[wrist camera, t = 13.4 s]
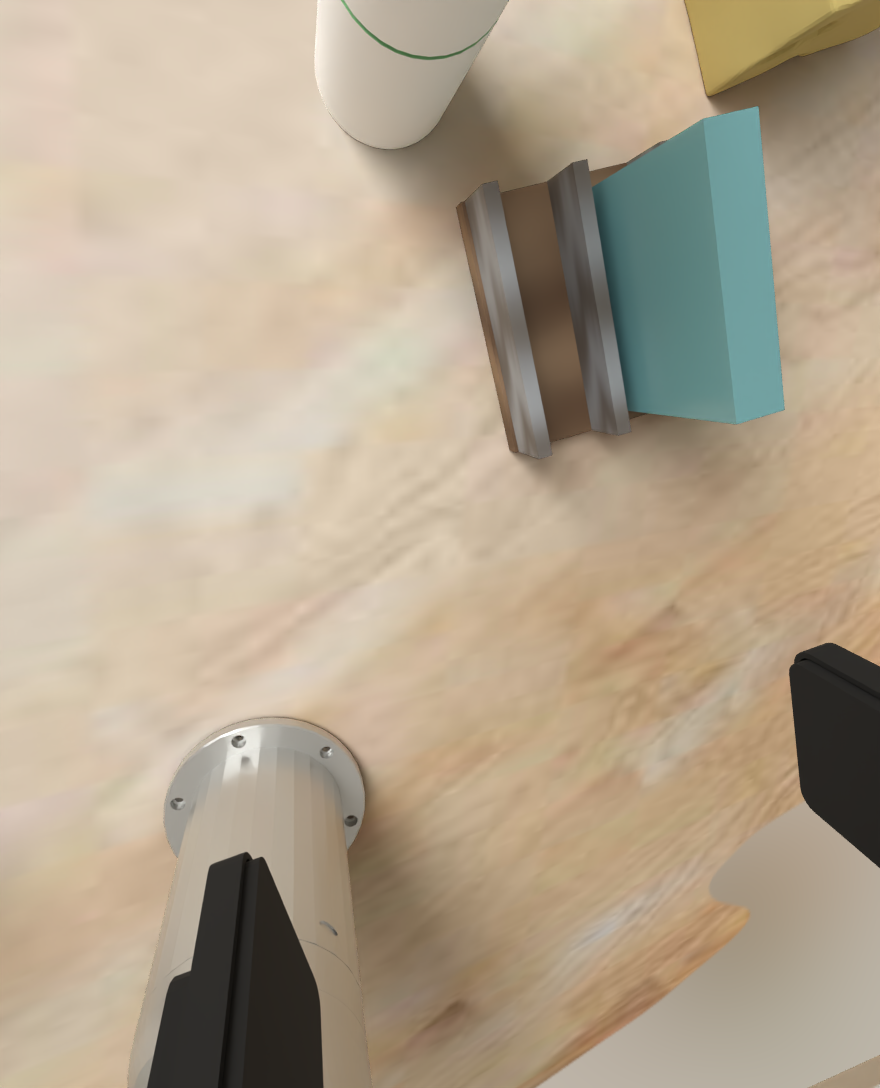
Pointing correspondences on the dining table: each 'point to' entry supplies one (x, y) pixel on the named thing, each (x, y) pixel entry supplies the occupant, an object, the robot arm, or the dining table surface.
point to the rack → (546, 307)
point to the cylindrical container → (396, 62)
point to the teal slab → (694, 274)
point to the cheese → (770, 33)
